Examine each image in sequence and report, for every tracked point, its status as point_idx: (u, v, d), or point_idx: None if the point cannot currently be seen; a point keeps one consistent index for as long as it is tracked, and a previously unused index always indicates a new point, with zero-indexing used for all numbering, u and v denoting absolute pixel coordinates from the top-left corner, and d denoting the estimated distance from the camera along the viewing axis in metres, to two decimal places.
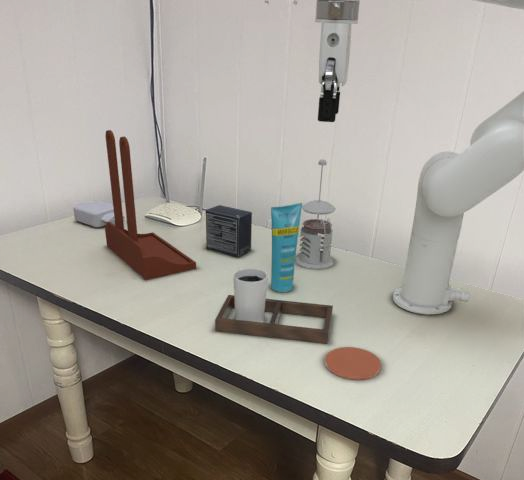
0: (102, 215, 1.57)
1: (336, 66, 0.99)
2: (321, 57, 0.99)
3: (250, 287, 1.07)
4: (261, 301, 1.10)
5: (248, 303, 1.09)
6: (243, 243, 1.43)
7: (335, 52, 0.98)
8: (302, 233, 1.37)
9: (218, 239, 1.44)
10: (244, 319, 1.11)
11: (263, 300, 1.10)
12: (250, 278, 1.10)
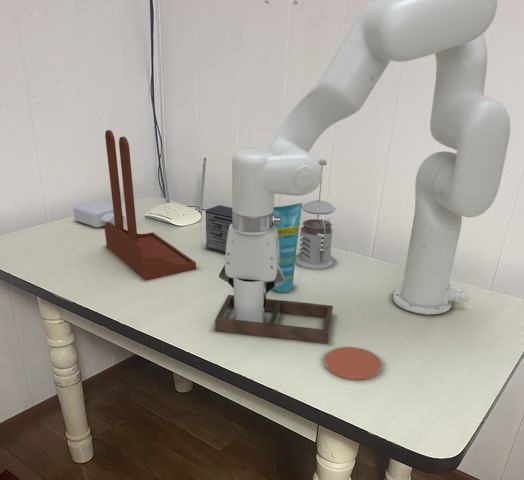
0: (102, 215, 1.57)
1: (279, 261, 1.08)
2: (275, 260, 1.05)
3: (250, 287, 1.07)
4: (261, 301, 1.10)
5: (248, 303, 1.09)
6: None
7: (278, 251, 1.06)
8: (302, 233, 1.37)
9: (218, 239, 1.44)
10: (244, 319, 1.11)
11: (263, 300, 1.10)
12: None
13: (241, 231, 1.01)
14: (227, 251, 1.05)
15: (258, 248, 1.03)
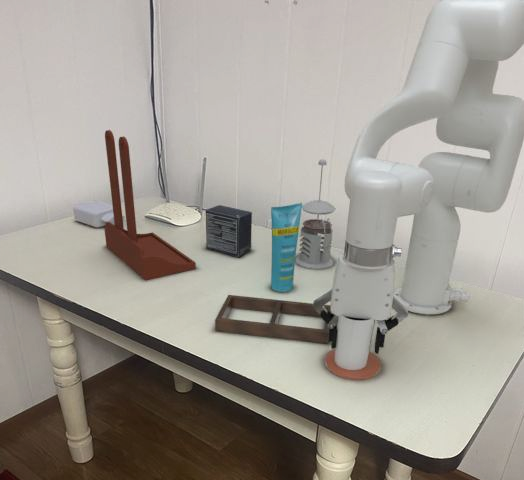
0: (102, 215, 1.57)
1: None
2: (391, 297, 0.92)
3: (359, 326, 0.94)
4: (368, 341, 0.96)
5: (355, 344, 0.96)
6: (243, 243, 1.43)
7: None
8: (302, 233, 1.37)
9: (218, 239, 1.44)
10: (348, 361, 0.98)
11: (370, 340, 0.97)
12: None
13: (357, 265, 0.88)
14: (336, 286, 0.92)
15: (374, 284, 0.90)
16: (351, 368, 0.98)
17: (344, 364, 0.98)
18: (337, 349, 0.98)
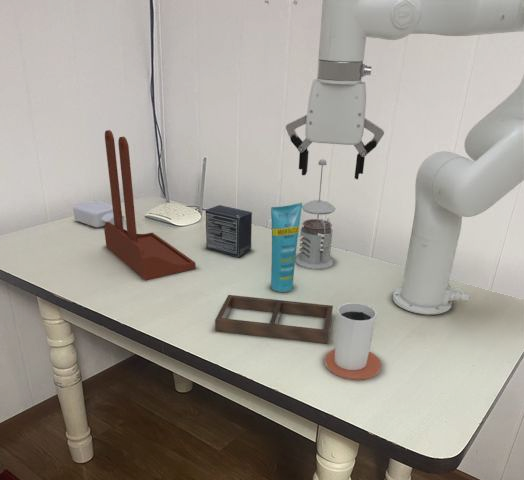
0: (102, 215, 1.57)
1: None
2: (363, 118, 0.96)
3: (359, 326, 0.94)
4: (368, 341, 0.96)
5: (355, 344, 0.96)
6: (243, 243, 1.43)
7: None
8: (302, 233, 1.37)
9: (218, 239, 1.44)
10: (348, 361, 0.98)
11: (370, 340, 0.97)
12: (355, 315, 0.97)
13: (329, 80, 0.93)
14: (310, 108, 0.97)
15: (345, 102, 0.95)
16: (351, 368, 0.98)
17: (344, 364, 0.98)
18: (337, 349, 0.98)
